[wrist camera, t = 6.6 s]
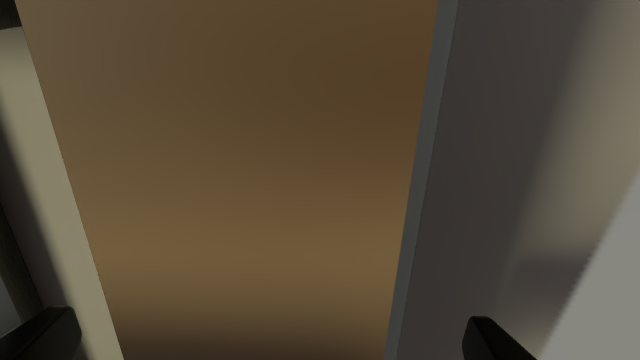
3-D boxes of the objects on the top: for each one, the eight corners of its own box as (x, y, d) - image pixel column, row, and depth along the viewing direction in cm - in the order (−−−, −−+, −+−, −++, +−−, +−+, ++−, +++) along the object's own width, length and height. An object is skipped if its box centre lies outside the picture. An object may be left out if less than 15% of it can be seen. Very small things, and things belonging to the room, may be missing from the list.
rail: (336, 489, 15) (340, 642, 12) (235, 486, 15) (209, 639, 12) (411, -349, 5) (593, -1022, 2) (116, -360, 5) (-309, -1061, 2)
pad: (368, 491, 17) (369, 508, 16) (205, 487, 17) (201, 504, 16) (529, -486, 5) (554, -539, 5) (-4, -507, 5) (-42, -564, 5)
